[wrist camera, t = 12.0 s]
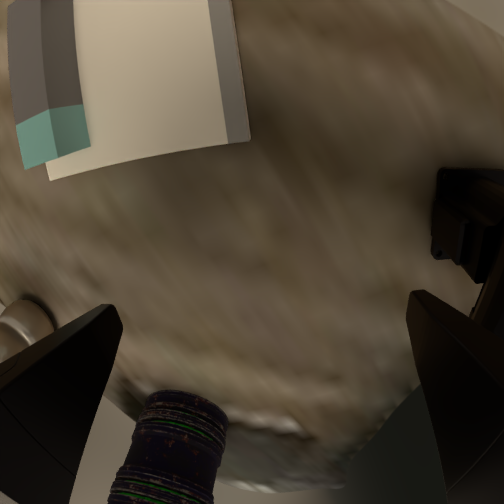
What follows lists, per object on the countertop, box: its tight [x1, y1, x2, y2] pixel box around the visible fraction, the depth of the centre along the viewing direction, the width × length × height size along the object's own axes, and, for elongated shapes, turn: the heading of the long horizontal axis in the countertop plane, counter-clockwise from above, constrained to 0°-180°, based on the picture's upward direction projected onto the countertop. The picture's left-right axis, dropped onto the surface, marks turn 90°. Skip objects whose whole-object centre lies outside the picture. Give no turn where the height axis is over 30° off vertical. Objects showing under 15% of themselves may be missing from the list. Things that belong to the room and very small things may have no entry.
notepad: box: [45, 0, 251, 181], centre depth 16 cm, size 15×14×1 cm
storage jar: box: [107, 390, 228, 504], centre depth 25 cm, size 10×10×15 cm
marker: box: [7, 0, 91, 170], centre depth 14 cm, size 3×12×4 cm, turn 8°
